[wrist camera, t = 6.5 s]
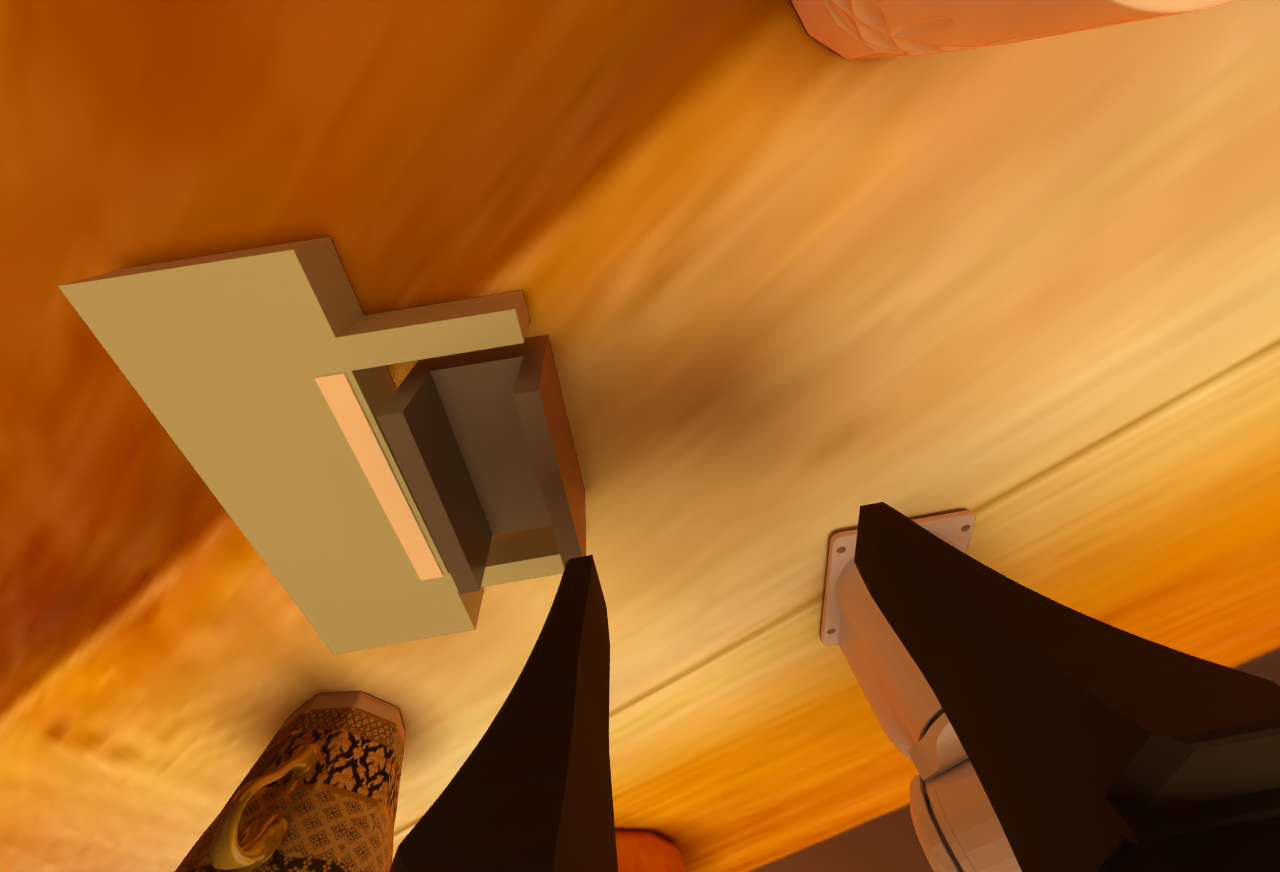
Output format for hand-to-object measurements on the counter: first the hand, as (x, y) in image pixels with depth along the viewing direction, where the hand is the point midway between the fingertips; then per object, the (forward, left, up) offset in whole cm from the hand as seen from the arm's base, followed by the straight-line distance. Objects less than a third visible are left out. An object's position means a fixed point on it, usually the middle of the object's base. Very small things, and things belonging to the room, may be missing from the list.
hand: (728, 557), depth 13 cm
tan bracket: (-1, +11, -10) cm, 15 cm away
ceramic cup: (-18, +22, -10) cm, 30 cm away
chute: (0, +7, -10) cm, 12 cm away
